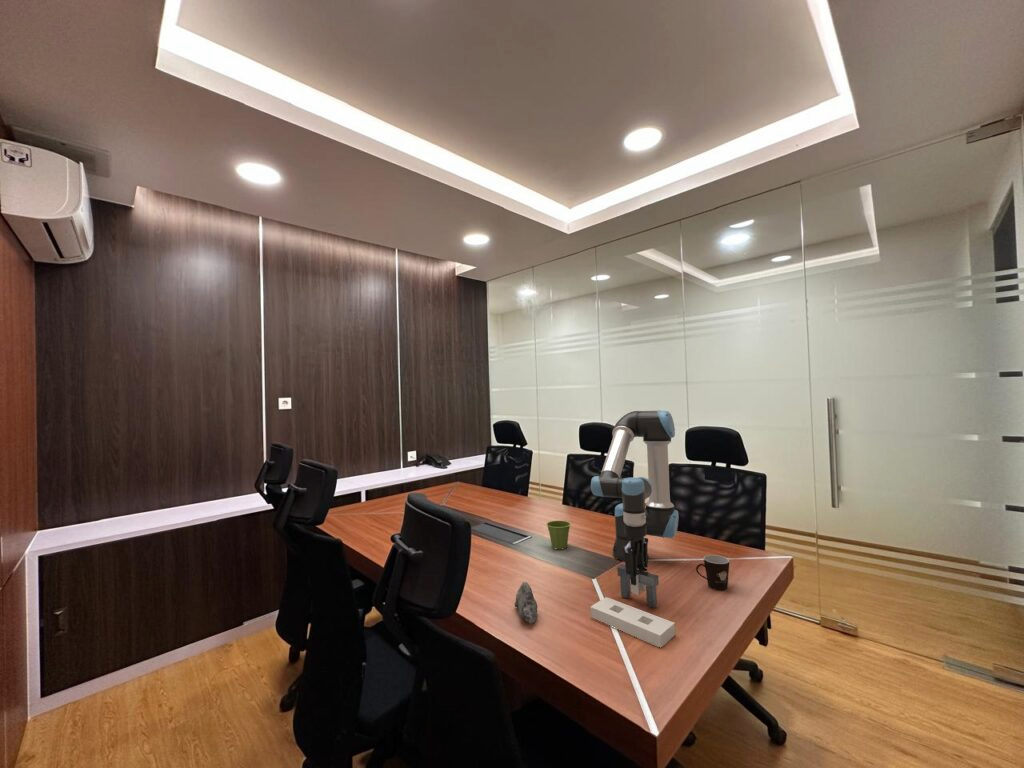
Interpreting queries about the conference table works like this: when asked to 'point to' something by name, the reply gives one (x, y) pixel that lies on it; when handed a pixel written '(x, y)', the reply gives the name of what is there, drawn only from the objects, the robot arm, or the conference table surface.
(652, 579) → the dark grey u-shaped bracket
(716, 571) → the coffee mug
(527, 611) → the mineral rock
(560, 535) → the plant pot
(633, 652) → the conference table surface
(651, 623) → the white slotted block
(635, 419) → the robot arm
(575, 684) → the conference table surface
